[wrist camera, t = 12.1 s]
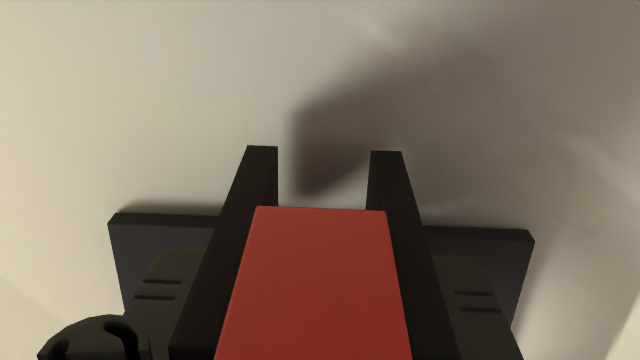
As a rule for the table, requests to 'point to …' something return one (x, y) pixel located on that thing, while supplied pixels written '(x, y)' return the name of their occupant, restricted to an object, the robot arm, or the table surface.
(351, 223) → the red ring
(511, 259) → the rubber mat
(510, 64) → the table surface
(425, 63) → the table surface
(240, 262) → the robot arm
